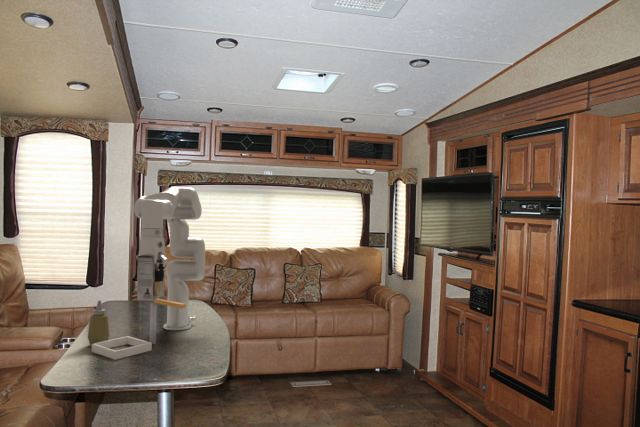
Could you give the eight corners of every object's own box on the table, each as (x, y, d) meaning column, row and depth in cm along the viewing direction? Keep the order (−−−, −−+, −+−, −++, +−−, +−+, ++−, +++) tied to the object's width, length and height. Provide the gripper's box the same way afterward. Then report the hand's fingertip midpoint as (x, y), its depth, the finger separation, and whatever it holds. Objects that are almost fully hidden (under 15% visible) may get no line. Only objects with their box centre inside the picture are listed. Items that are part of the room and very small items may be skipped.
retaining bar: (147, 301, 202) (147, 298, 202) (154, 300, 205) (154, 297, 205) (180, 308, 190) (180, 304, 190) (186, 307, 193) (187, 303, 193)
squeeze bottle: (85, 348, 193) (86, 302, 193) (89, 343, 201) (90, 299, 201) (107, 347, 195) (108, 302, 195) (110, 342, 203) (111, 298, 203)
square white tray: (143, 339, 208) (144, 300, 208) (167, 346, 199) (168, 304, 199) (91, 351, 189) (92, 308, 189) (115, 359, 180) (116, 314, 180)
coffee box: (148, 295, 186) (149, 253, 186) (164, 296, 185) (165, 253, 185) (136, 300, 177) (136, 255, 177) (153, 300, 176) (153, 256, 176)
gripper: (175, 234, 179) (174, 281, 179) (146, 231, 189) (145, 276, 189) (158, 234, 173) (157, 283, 173) (128, 232, 183) (127, 278, 183)
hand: (150, 280), depth 181 cm, fingers closed on coffee box, 8 cm apart
